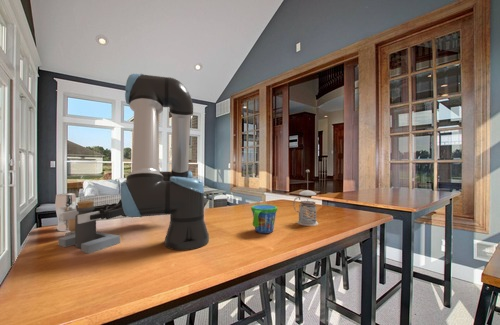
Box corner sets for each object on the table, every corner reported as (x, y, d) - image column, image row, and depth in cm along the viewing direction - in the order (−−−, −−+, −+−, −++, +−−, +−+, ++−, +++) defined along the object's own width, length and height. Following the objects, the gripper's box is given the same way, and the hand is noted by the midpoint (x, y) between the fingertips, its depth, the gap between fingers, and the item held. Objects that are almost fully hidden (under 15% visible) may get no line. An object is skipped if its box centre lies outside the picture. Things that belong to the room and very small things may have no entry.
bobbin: (91, 234, 93) (90, 209, 93) (71, 239, 87) (71, 212, 87) (80, 231, 96) (80, 207, 96) (60, 236, 90) (60, 210, 90)
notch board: (119, 242, 83) (119, 235, 83) (88, 253, 73) (88, 245, 73) (90, 236, 90) (90, 230, 90) (58, 245, 80) (58, 238, 80)
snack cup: (263, 224, 106) (263, 202, 106) (284, 228, 100) (284, 205, 100) (242, 233, 93) (242, 208, 93) (264, 238, 87) (264, 211, 87)
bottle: (85, 248, 77) (85, 203, 77) (71, 247, 78) (70, 203, 78) (100, 242, 83) (99, 200, 83) (86, 241, 84) (86, 200, 84)
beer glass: (51, 230, 98) (51, 195, 98) (69, 226, 104) (69, 192, 104) (62, 232, 95) (61, 195, 95) (79, 228, 101) (79, 193, 101)
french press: (321, 225, 104) (321, 170, 104) (295, 225, 104) (295, 170, 104) (315, 220, 114) (315, 169, 114) (291, 220, 114) (291, 169, 114)
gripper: (150, 217, 92) (90, 233, 72) (115, 212, 101) (52, 225, 81) (149, 198, 92) (89, 209, 72) (115, 195, 101) (52, 204, 80)
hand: (70, 218), depth 76 cm, fingers open, 8 cm apart
